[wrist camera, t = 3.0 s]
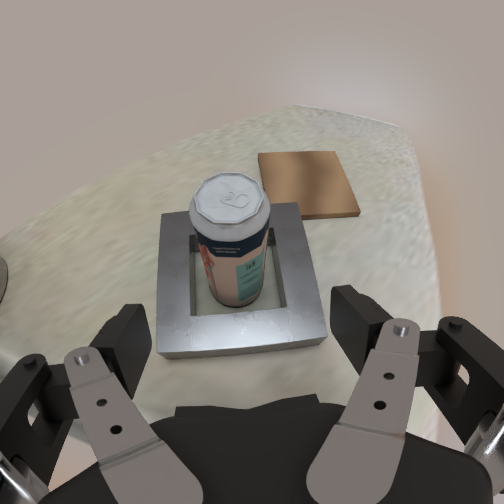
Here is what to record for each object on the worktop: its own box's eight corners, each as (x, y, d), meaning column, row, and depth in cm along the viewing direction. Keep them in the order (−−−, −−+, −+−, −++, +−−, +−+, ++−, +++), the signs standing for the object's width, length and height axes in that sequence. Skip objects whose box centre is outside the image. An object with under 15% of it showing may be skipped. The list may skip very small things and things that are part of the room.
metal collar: (167, 359, 23) (156, 352, 20) (168, 231, 29) (161, 213, 27) (319, 344, 24) (327, 336, 21) (293, 220, 30) (297, 202, 27)
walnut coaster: (269, 222, 30) (270, 217, 29) (257, 158, 35) (257, 153, 34) (358, 216, 31) (360, 211, 30) (333, 155, 36) (334, 151, 35)
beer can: (222, 254, 28) (208, 159, 18) (269, 270, 27) (281, 177, 17) (201, 298, 26) (171, 216, 15) (251, 316, 25) (254, 242, 15)
